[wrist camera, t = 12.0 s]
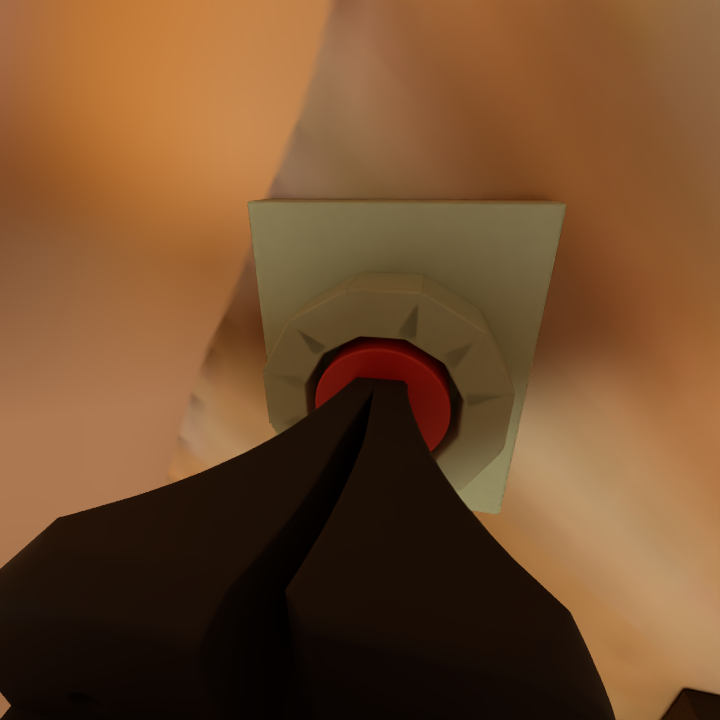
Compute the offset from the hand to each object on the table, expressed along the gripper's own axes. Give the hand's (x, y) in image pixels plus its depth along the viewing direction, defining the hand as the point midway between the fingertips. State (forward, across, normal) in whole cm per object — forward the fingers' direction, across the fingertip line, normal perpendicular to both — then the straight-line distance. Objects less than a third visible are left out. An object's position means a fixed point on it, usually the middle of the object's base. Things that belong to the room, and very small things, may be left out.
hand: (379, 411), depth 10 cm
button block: (+3, 0, 0) cm, 3 cm away
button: (+2, 0, 0) cm, 2 cm away
